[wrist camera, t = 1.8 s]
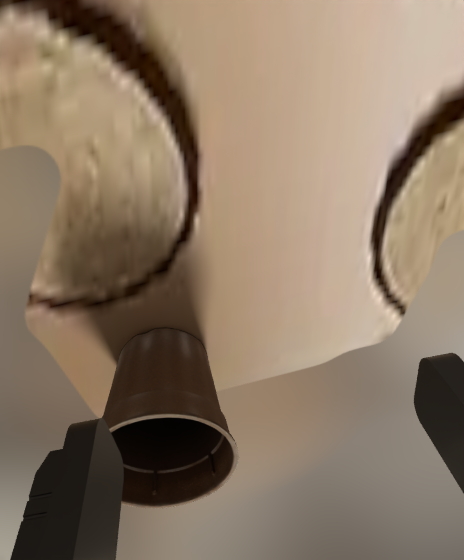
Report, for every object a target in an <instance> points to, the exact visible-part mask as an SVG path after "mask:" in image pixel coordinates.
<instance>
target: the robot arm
mask: <svg viewBox="0 0 464 560" xmlns="http://www.w3.org/2000/svg"><path fill="white" fill-rule="evenodd" d="M414 405H415V410H416V413H417V416H418V419H419V421H420V423H421V424H422V426H423V428H424V429H425V431H426V432H427V434H428V436H429V437H430V439H431V441H432V442H433V444H434V446H435V447H436V449H437V450H438V452H439V454H440V455H441V457H442V459H443V460H444V462H445V464H446V465H447V467H448V469H449V470H450V472H451V473H452V475H453V477H454V478H455V480H456V482H457V483H458V485H459V486H460V488H461V490H462V491H463V493H464V362H463V361H462V359H461V358H460V357H459V356H458V355H456V354H454V353H448V354H443V355H437V356H432V357H427V358H423V359H421V361H420V363H419V369H418V376H417V383H416V388H415V395H414ZM123 481H124V469H123V461H122V457H121V454H120V451H119V449H118V447H117V445H116V443H115V441H114V439H113V436H112V434H111V432H110V430H109V428H108V426H107V424H106V422H105V420H104V419H103V418H100V419H95V420H90V421H85V422H80V423H74V424H71V425H70V426H69V428H68V431H67V434H66V438H65V442H64V446H63V449H60V450H55V451H50V453H49V454H48V456H47V457H46V459H45V460H44V462H43V463H42V465H41V466H40V468H39V469H38V470H37V472H36V474H35V478H34V481H33V484H32V488H31V491H30V494H29V501H28V502H27V505H26V508H25V511H24V515H23V518H24V519H23V521H22V522H21V525H20V529H19V532H18V535H17V539H16V542H15V546H14V549H13V552H12V556H11V559H10V560H115V559H116V550H117V539H118V529H119V519H120V510H121V501H122V491H123Z"/></svg>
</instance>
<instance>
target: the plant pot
mask: <svg viewBox="0 0 464 560" xmlns="http://www.w3.org/2000/svg"><path fill="white" fill-rule="evenodd" d="M102 418H103V419H104V420H105V422H106V424H107V426H108V428H109V430H110V432H111V434H112V436H113V439H114V441H115V443H116V445H117V447H118V449H119V451H120V454H121V457H122V461H123V469H124V481H123V491H122V501H121V504H123V505H127V506H134V507H141V508H166V507H174V506H179V505H184V504H187V503H190V502H194V501H197V500H199V499H201V498H204V497H205V496H208V495H210V494H211V493H213V492H215V491H216V490H218V489H219V488H220V487H222V486H223V485H224V484H225V483H226V482H227V481H228V480H229V479H230V477H231V476H232V475H233V473H234V471H235V469H236V467H237V464H238V449H237V446H236V443H235V440H234V439H233V437H232V435H231V434H230V433H229V430H228V426H227V422H226V419H225V417H224V415H223V413H222V412H221V410H220V406H219V402H218V398H217V394H216V389H215V386H214V382H213V378H212V374H211V370H210V366H209V361H208V356H207V353H206V351H205V349H204V347H203V346H202V344H201V343H200V341H199V340H197V339H196V338H195V337H193V336H192V335H190V334H188V333H185V332H183V331H180V330H175V329H166V328H162V329H153V330H152V331H150V332H148V333H146V334H142V335H137V336H135V337H134V338H132V339H131V340H130V341H128V343H127V344H126V345H125V346H124V348H123V349H122V351H121V353H120V356H119V359H118V363H117V367H116V371H115V375H114V379H113V383H112V387H111V390H110V394H109V397H108V401H107V404H106V408H105V411H104V415H103V417H102Z"/></svg>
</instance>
